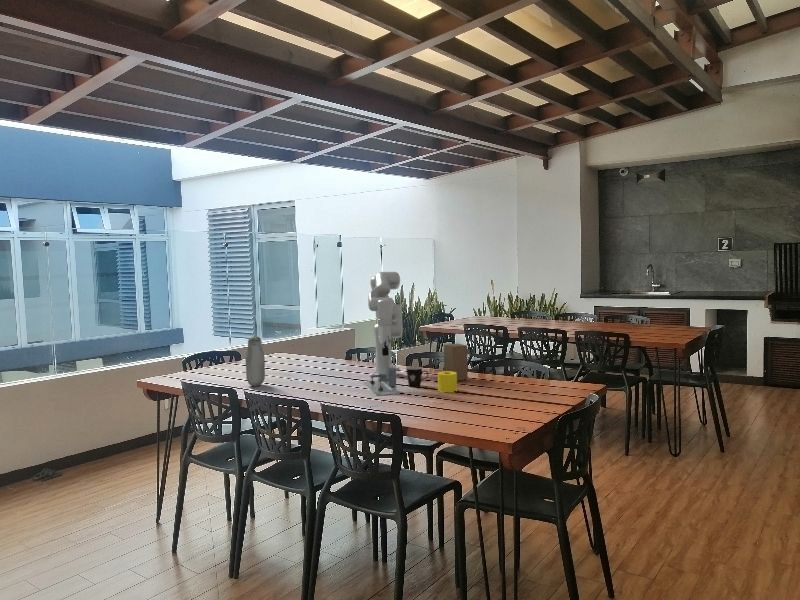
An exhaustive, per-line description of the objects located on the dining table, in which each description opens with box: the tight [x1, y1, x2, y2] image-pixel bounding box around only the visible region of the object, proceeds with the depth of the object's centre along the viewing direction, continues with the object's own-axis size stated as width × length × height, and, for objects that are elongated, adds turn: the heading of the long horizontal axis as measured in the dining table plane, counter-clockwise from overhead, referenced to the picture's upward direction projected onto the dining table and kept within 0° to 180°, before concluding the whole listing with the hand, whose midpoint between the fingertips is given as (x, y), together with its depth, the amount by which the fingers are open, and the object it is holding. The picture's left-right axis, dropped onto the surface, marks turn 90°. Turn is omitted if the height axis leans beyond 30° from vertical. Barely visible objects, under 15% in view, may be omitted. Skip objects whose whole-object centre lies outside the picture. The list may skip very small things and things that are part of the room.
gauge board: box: [363, 374, 400, 397], centre depth 329 cm, size 12×30×6 cm, turn 16°
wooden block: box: [443, 343, 469, 381], centre depth 350 cm, size 10×10×20 cm
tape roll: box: [437, 370, 458, 393], centre depth 321 cm, size 10×10×9 cm
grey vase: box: [245, 335, 266, 387], centre depth 343 cm, size 10×10×28 cm
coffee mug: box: [406, 366, 429, 388], centre depth 333 cm, size 12×9×10 cm
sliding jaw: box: [377, 367, 397, 387], centre depth 320 cm, size 9×5×9 cm, turn 106°
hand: (385, 355), depth 331 cm, fingers closed
